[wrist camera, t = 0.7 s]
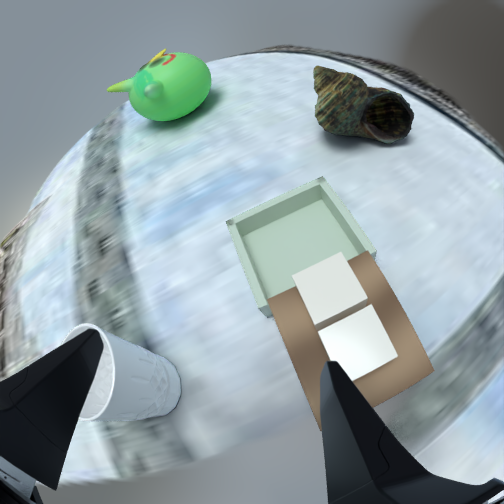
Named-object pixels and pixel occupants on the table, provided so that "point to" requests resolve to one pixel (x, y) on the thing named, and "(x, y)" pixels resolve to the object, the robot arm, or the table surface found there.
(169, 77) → the green teapot
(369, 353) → the tile
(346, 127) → the seashell
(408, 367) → the tan cardboard slab
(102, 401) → the white cup
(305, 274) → the tile
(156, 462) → the table surface
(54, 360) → the robot arm
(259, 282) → the tray
